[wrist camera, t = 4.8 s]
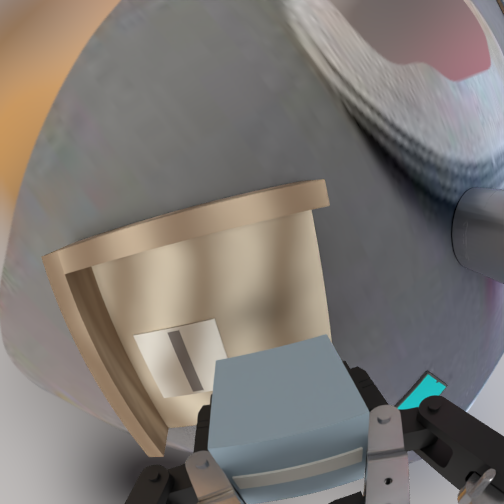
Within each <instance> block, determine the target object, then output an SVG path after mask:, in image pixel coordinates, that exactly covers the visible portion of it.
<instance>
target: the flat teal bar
mask: <svg viewBox="0 0 504 504" xmlns="http://www.w3.org/2000/svg"><path fill="white" fill-rule="evenodd" d="M446 388H447V385H446V384H445V383H444V382H443V381H441V380H440V379H438V378H437V377H435V376H434V375H433V374H432V373H430V372H429V371H426V372H425V373H424V374H423V375H422V376H421V377H420V379H419V380H418V381H417V382H416V383H415V384H414V385H413V387H412V388H411V389H410V390H409V391H408V392H407V393H406V394H405V395H404V396H403V398H402V399H401V400H400V401H399V402H398V403H397V404H396V405H395V406H394V407H396V408H397V409H410V408H415V407H419V405H420V403H421V401H422V400H423V399H425V398H427V397H429V396H433V395H438V396H440V395H441V393H442V392H443V391H444V390H445V389H446Z"/></svg>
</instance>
